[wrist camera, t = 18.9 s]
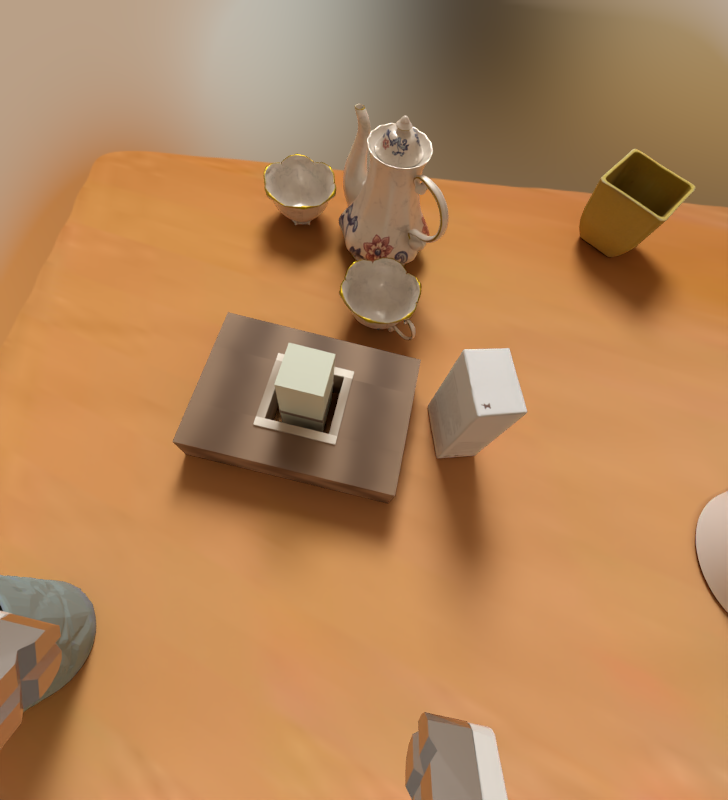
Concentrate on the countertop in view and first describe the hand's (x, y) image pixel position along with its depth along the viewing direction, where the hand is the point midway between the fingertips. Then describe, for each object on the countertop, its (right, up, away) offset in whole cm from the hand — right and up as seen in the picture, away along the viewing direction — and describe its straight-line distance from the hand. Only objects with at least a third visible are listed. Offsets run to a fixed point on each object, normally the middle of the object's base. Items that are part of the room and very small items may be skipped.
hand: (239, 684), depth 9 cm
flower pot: (+35, +28, +48) cm, 66 cm away
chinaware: (+2, +24, +43) cm, 50 cm away
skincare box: (+12, +3, +35) cm, 37 cm away
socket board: (-3, +5, +34) cm, 34 cm away
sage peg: (-3, +5, +34) cm, 34 cm away
